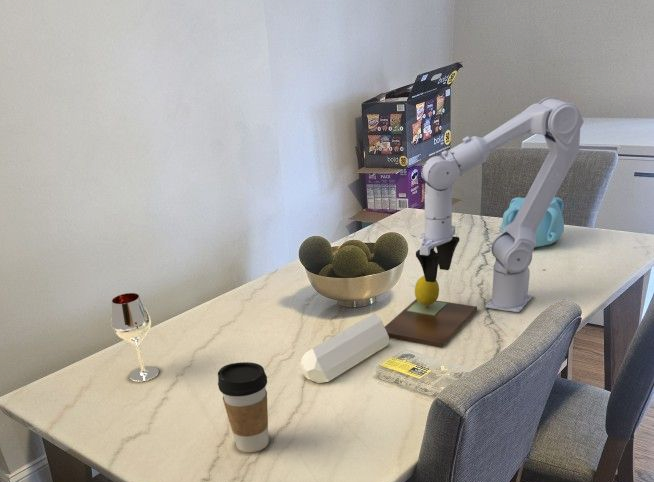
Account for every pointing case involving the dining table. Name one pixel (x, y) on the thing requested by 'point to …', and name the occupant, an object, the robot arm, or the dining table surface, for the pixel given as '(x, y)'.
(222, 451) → the dining table surface
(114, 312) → the wineglass
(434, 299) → the lemon
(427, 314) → the board
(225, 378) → the coffee cup
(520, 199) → the decorative pot
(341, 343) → the crystal
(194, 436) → the dining table surface
